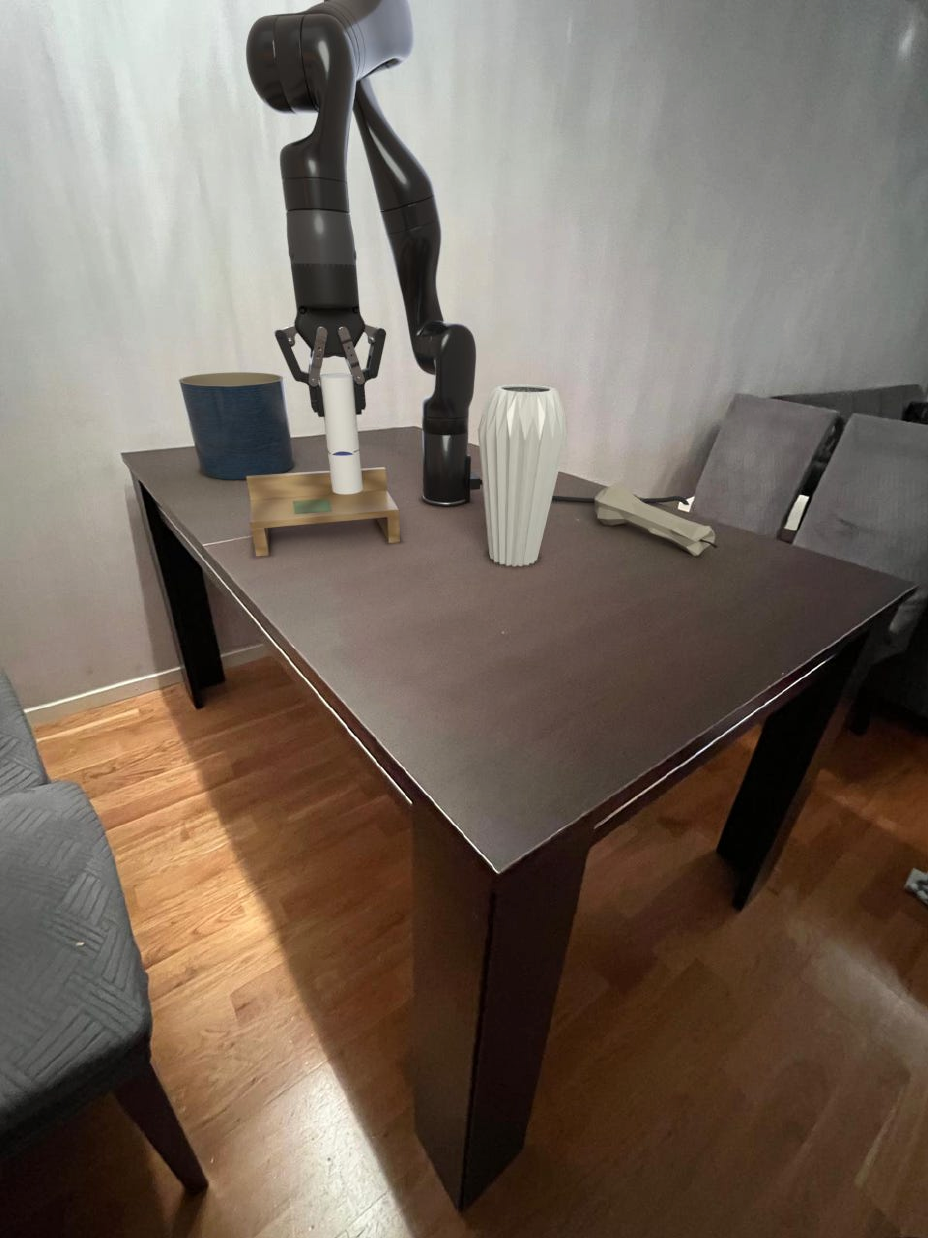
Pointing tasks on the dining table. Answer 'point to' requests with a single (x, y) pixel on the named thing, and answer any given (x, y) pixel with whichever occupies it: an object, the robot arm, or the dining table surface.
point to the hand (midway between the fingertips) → (339, 414)
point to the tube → (341, 432)
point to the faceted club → (651, 519)
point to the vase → (520, 467)
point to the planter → (238, 423)
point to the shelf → (317, 503)
